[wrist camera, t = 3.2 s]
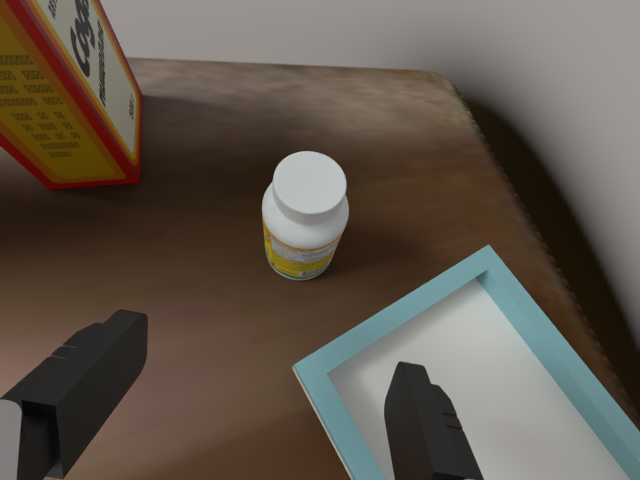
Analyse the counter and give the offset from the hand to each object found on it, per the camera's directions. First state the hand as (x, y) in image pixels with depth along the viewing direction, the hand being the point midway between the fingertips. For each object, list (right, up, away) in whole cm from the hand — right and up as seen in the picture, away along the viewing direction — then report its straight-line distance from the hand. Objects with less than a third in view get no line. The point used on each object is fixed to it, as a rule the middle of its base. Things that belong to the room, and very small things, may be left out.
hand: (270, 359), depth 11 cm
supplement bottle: (0, +3, +16) cm, 17 cm away
